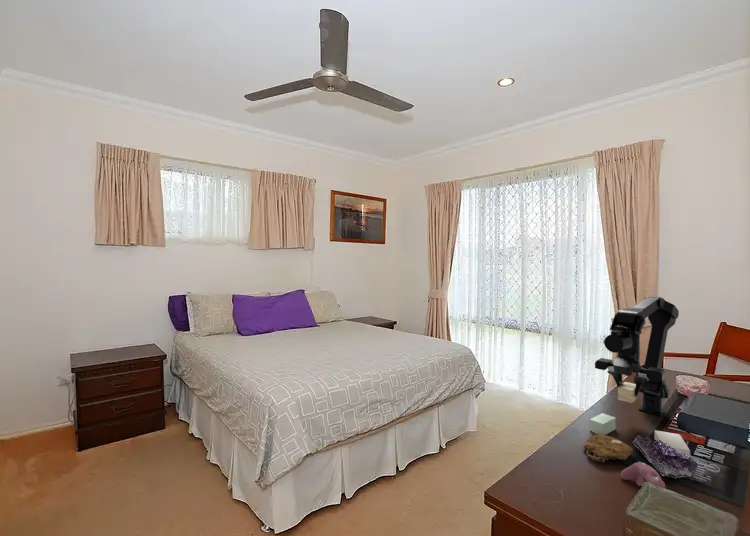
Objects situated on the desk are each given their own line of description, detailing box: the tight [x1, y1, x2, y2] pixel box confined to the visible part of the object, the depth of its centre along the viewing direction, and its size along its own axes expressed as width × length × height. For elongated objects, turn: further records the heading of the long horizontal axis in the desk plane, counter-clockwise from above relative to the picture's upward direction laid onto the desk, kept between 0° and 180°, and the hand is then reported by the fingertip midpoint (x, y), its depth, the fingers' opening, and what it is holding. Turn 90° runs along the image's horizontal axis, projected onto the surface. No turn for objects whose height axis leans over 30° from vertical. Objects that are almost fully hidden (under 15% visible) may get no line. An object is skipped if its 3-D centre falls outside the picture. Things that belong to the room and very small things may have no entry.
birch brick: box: [617, 381, 640, 404], centre depth 120 cm, size 8×4×4 cm, turn 131°
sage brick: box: [589, 412, 616, 435], centre depth 116 cm, size 8×4×4 cm, turn 122°
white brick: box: [654, 429, 691, 458], centre depth 104 cm, size 10×6×3 cm, turn 152°
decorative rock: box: [582, 433, 635, 463], centre depth 102 cm, size 11×4×15 cm
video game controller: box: [619, 461, 666, 489], centre depth 86 cm, size 10×5×7 cm, turn 169°
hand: (628, 394), depth 120 cm, fingers closed on birch brick, 4 cm apart
